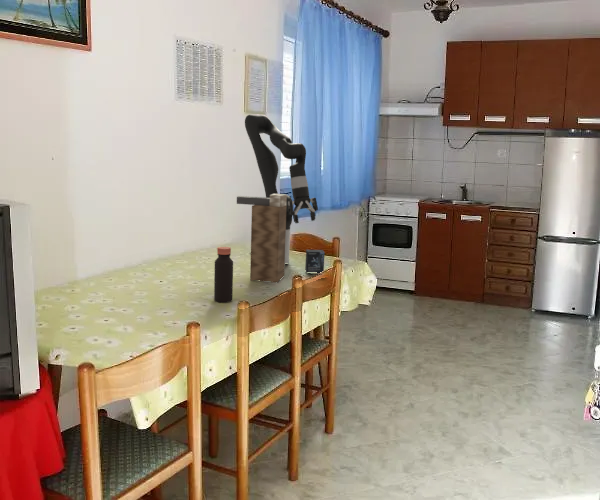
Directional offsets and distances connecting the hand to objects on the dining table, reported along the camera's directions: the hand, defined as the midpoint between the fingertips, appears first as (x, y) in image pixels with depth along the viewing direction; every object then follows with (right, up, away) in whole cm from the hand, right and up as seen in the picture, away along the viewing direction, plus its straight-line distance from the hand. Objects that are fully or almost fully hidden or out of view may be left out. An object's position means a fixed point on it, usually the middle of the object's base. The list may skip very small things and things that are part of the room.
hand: (305, 221), depth 293 cm
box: (+4, -24, -1) cm, 24 cm away
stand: (-16, -25, -15) cm, 34 cm away
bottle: (-31, -32, -54) cm, 70 cm away
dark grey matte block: (-20, +6, -20) cm, 29 cm away
